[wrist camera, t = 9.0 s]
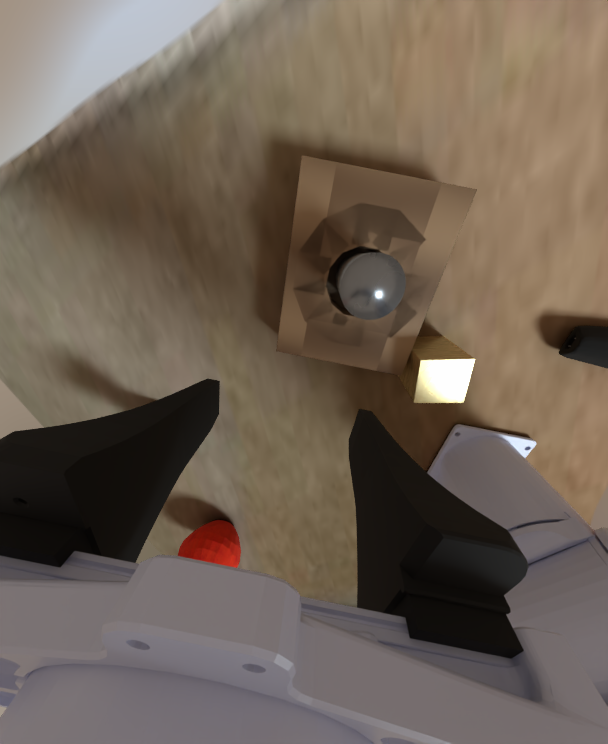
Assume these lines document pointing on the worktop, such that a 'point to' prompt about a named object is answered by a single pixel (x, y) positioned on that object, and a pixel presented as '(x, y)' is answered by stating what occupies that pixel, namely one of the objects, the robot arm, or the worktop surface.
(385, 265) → the round peg
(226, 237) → the worktop surface
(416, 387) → the square bar
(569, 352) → the electric trimmer
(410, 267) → the socket block
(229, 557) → the apple
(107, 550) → the robot arm
